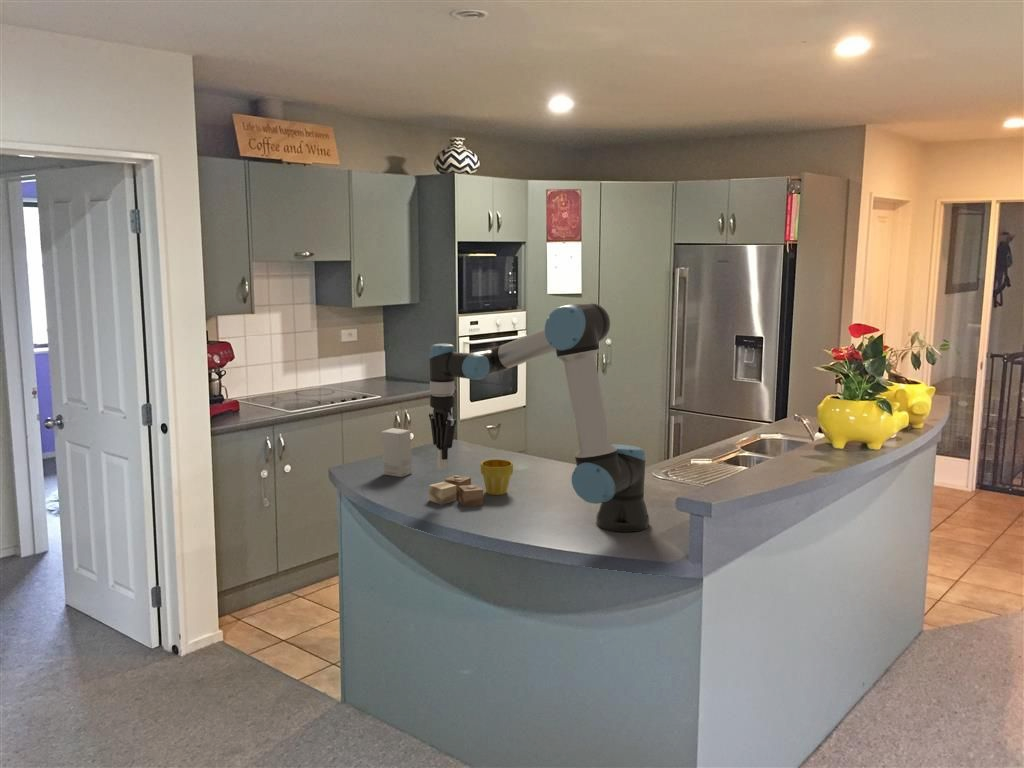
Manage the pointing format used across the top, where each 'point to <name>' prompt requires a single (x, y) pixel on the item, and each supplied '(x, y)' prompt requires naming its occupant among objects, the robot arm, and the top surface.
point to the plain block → (442, 492)
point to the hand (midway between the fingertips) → (442, 468)
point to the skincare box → (396, 452)
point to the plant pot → (496, 475)
